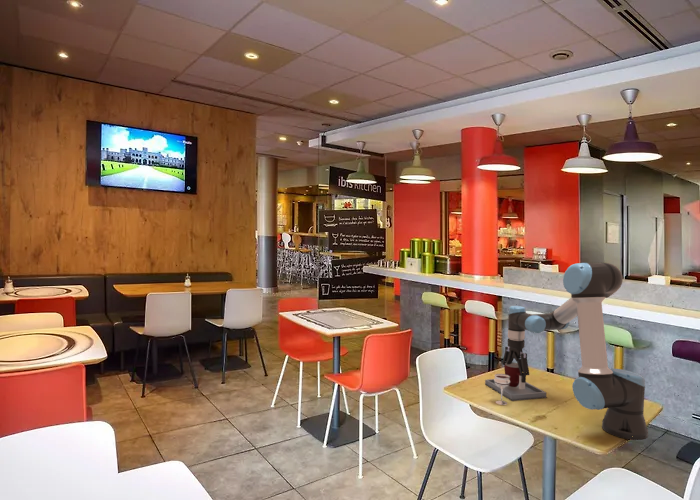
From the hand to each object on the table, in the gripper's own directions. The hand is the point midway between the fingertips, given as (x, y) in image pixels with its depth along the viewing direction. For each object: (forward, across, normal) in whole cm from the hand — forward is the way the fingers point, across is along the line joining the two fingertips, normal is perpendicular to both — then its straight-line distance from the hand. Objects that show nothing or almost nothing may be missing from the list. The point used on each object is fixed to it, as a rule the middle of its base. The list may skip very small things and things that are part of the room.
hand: (514, 384), depth 216 cm
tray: (+3, 0, 0) cm, 3 cm away
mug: (+1, 0, 0) cm, 1 cm away
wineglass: (+3, -12, +15) cm, 19 cm away
